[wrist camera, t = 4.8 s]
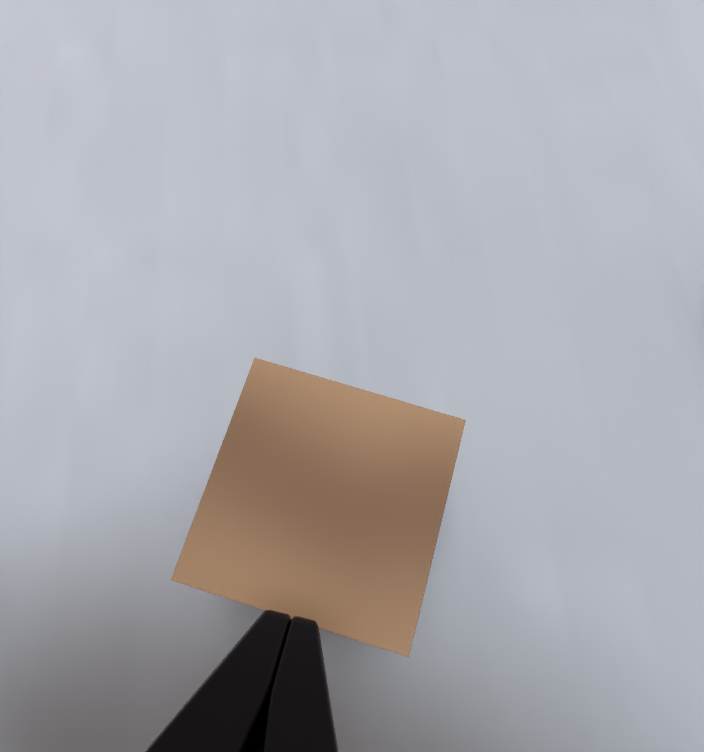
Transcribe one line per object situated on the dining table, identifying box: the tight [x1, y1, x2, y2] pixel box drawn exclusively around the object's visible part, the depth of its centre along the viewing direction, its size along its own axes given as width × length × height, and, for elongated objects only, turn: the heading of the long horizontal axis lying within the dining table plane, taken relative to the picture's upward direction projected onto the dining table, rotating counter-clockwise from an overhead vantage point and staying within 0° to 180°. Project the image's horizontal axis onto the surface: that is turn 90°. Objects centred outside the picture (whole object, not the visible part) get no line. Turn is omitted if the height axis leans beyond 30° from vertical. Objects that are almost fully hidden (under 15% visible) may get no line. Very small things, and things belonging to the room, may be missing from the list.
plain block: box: [171, 358, 466, 657], centre depth 16 cm, size 5×5×8 cm
